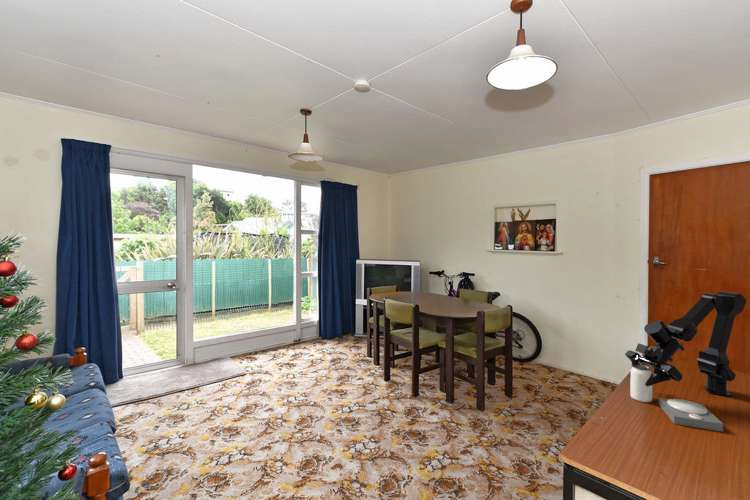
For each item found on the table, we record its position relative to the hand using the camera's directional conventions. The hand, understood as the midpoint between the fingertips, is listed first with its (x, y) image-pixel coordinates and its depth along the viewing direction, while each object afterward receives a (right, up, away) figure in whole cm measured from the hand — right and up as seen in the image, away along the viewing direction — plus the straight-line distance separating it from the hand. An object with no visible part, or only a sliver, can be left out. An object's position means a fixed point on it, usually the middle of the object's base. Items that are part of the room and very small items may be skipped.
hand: (637, 381), depth 128 cm
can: (+1, -7, 0) cm, 7 cm away
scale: (+7, -7, -13) cm, 16 cm away
